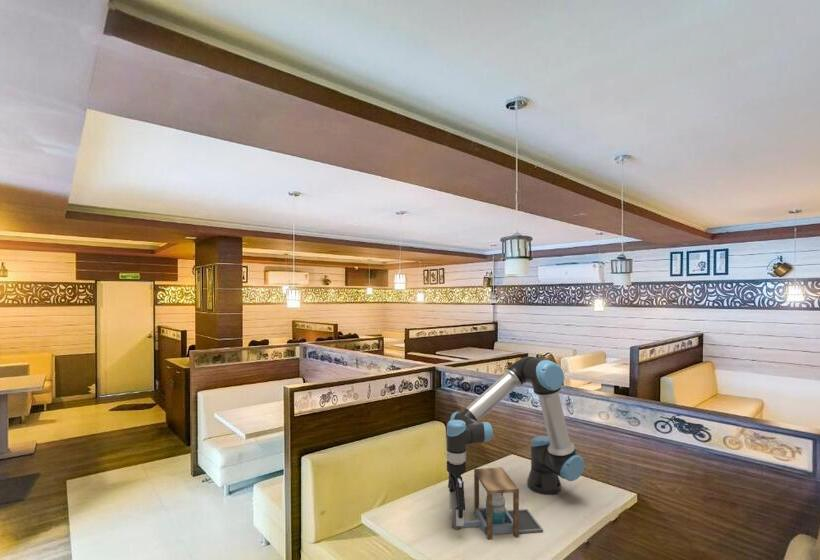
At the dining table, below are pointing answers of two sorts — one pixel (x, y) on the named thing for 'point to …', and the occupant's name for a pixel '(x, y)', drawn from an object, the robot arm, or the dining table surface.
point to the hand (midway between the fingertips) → (456, 516)
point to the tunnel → (493, 484)
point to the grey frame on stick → (482, 520)
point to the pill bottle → (497, 509)
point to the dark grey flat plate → (527, 522)
